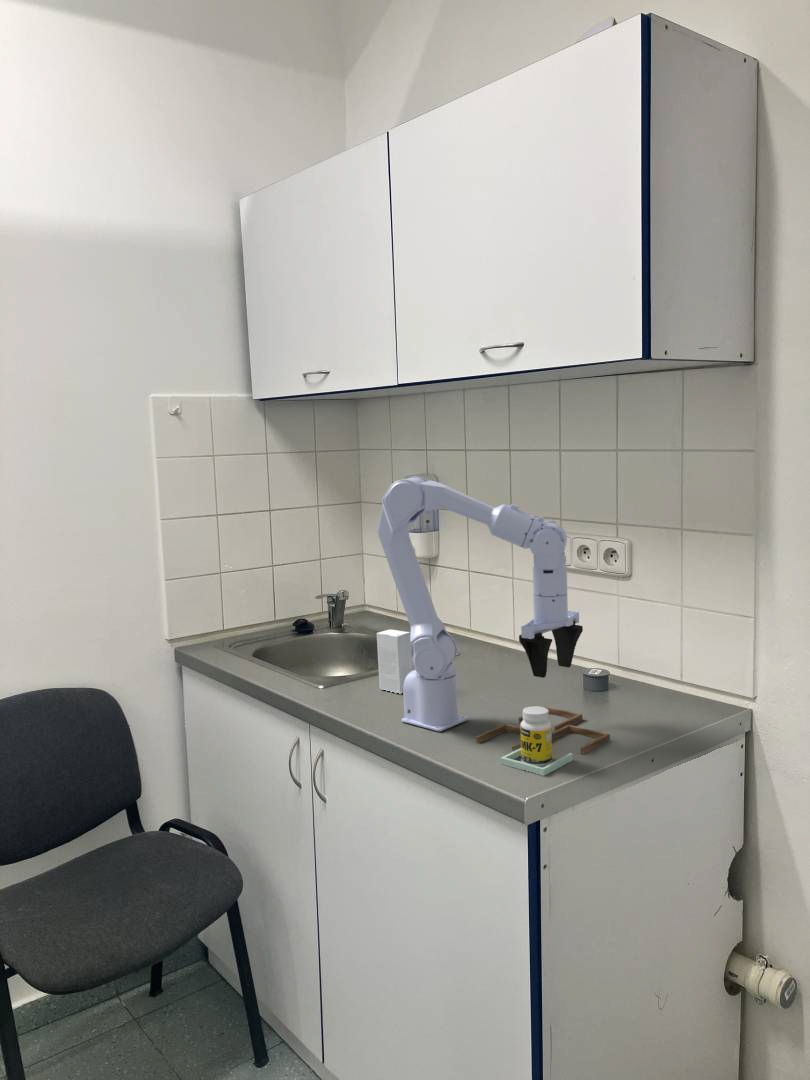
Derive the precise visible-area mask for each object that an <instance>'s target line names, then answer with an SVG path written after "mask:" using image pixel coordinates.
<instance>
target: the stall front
mask: <svg viewBox="0 0 810 1080" xmlns="http://www.w3.org/2000/svg"><path fill="white" fill-rule="evenodd" d="M568 733H573V734H578V735H582V736H586V737H590V738H594V740H592V741H591V742H588V743H587V744H585V745H583V746H581V747H580V754H581V755H585V754H587V753H588V752H590V751H592V750H594V749H596V748H598V747H600V746H601V745H603V744H605V743H607V742H609V741H610V739H611V736H610V733H608V732H607V733H606V732H603V731H598V730H594V729H590V728H589V729H588V728H584V727H581V726H576V725H567V726H565V727H563V728H561V729H558V730H556V731H555V730H554V731H553V732H552V741H554V740H556V739H557V738H560V737H562V736H563V735H565V734H568Z"/></svg>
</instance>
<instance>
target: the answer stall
mask: <svg viewBox="0 0 810 1080" xmlns="http://www.w3.org/2000/svg"><path fill="white" fill-rule="evenodd" d="M519 756H520V757H521V748H520V749H518V750H515V751H513V752H512V751H511V752H510V753H508V754H506V755H504V756H501V757H500V764H501V765H503V766H508V767H510V768H514V769H518V770H521V769H522V770H521V771H524V770H526V771H525V772H528V771H530V772H529V773H531V772H533V773H532V774H535V773H536V775H538V774H539V775H540V776H543V777H544V776H546V775H549V774H550V773H552V772H553V771H556V770H557V769H559V768H561V767H563V766H564V765H566V764H568V763H570V762H572V761H574V754H573V753H571V752H568V754H566V755H564V756H562V757H560V758H559V759H556V760H555V761H552V762H551V763H550V764H549V765H547V766H544V767H538V766H534V765H531V764H527V763H523V762H522V761H519V760H516V759H518V758H519ZM517 757H518V758H517ZM539 775H538V776H539Z"/></svg>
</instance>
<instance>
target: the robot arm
mask: <svg viewBox="0 0 810 1080" xmlns="http://www.w3.org/2000/svg"><path fill="white" fill-rule="evenodd" d="M381 502H382V503H381V505H382V508H381V511H380V517H379V524H378V529H377V534H378V539H379V541H380V543H381V547H382V550H383V552H384V555H385V558H386V561H387V564H388V567H389V570H390V572H391V575H392V579H393V582H394V583H395V584H394V585H395V586H396V589H397V593H398V595H399V598H400V600H401V604H402V606H403V609H404V613H405V615H406V618H407V621H408V623H409V626H410V632H411V636H410V642H411V645H412V663H413V671H411V672H410V673H409V674H408V675H407V676H406V678H405V681H404V685H403V694H402V695H403V715H404V717H402V718H401V719H400V720H401V722H402V723H405V724H410V725H414V726H417V727H421V728H423V729H424V728H425V729H429V730H432V731H436V732H442V731H445V730H448V729H450V728H452V727H454V726H457V725H460V724H462V723H463V722H467V721H468V720H469V717H468V716H466V715H461V714H459V713H458V712H459V711H458V691H457V690H458V689H457V688H458V686H457V670H456V668H455V667H454V665H453V661H454V659H455V658H456V656H457V655H458V654H457V653H458V645H457V642H456V640H455V638H454V637H453V636H452V635H450V633H449V632H448V631H447V629H446V627H445V624H444V622H443V621H442V620H441V618H439V616H438V614H437V611H436V609H435V605H434V603H433V600H432V597H431V595H430V591H429V589H428V586H427V582H426V580H425V578H424V574H423V572H422V568H421V566H420V563H419V561H418V557H417V555H416V552H415V548H414V546H413V543H412V540H411V537H410V532H411V530H412V528H413V527H414V524H415V523H416V521H417V518H418V517H419V516H420V515H421V514H422V513H424V512H429V511H434V510H435V511H436V510H441V509H443V510H447V511H449V512H453V513H454V514H458V515H459V516H462V517H466V518H468V519H471V520H473V521H476V522H479V523H482V524H484V525H486V526H487V528H488V529H489V532H490V534H491V535H492V536H494V537H496V538H498V539H501V540H503V541H505V542H507V543H510V544H512V545H515V546H517V547H520V548H522V549H530V551H531V553H532V555H533V567H532V585H533V586H532V587H533V589H532V590H533V595H532V596H533V619H531V620H529V622H527V623H526V624H524V625H521V627H520V629H521V630H520V631H521V634H520V635H519V636H518V641H519V642H520V645H521V646H522V648H523V649H524V651H525V653H526V655H527V659H528V660H529V664H530V668H531V671H532V675H533V677H537V678H546V677H547V672H548V671H547V670H548V657H549V652H550V648H551V644H552V642H553V639H554V643H555V649H556V651H555V652H556V659H557V664H558V666H559V667H563V668H571V667H572V662H573V657H574V653H575V649H576V646H577V642H578V641H579V638H580V637H581V635H582V632H583V629H584V628H583V625H580V612H579V611H573V610H568V609H569V608H568V607H569V606H568V568H567V565H566V563H567V556H566V552H565V549H566V547H567V542H568V536H567V533H566V530H565V529H564V528H563V526H561V525H560V524H558V523H557V522H556V521H554V520H546V521H545V518H546V517H545V516H543V515H539V516H534V515H532V514H529V513H527V512H525V511H522V510H520V509H519V508H520V506H519V505H518V504H516V503H512V504H510V505H508V504H506V503H504V504H501V505H499V506H497V507H494V506H492V505H489V504H487V503H485V502H483V501H481V500H478V499H477V498H474V497H472V496H470V495H467V494H466V493H463V492H461V491H459V490H457V489H455V488H452V487H451V486H448V485H446V484H443V483H442V482H441V483H440V482H437V481H436V480H435V481H434V480H431V479H430V480H427V479H426V478H425V477H422V476H417V475H415V476H414V475H413V476H410V477H408V478H405V479H399V480H396V481H395V482H393V483H392V484H391V485H390V486H389V488H388V489H387V491H386V492H385V494H384V495H383V497H382V499H381ZM548 632H552V637H553V638H549V637H548V638H547V637H545V636H544V635H543V634H545V633H548Z"/></svg>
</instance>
